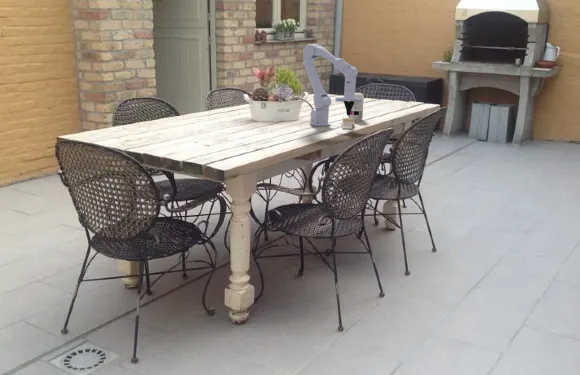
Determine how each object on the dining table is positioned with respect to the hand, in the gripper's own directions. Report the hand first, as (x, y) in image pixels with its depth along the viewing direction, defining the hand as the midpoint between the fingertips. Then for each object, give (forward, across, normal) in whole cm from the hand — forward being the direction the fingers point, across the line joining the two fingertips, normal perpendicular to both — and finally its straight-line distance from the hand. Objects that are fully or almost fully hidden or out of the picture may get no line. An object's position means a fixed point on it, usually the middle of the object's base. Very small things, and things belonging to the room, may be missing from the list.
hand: (348, 115), depth 335 cm
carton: (+7, -1, -5) cm, 9 cm away
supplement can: (+7, -8, -28) cm, 30 cm away
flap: (+3, 0, -2) cm, 4 cm away
